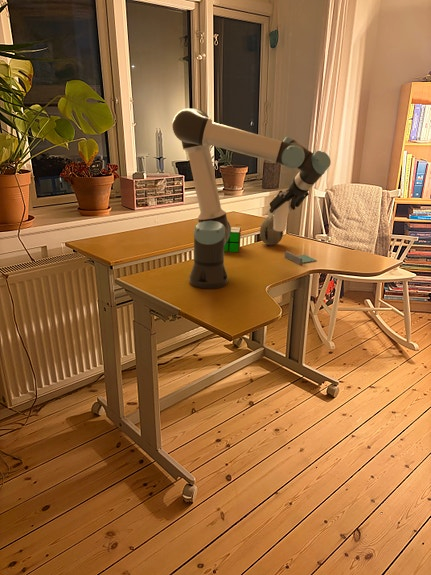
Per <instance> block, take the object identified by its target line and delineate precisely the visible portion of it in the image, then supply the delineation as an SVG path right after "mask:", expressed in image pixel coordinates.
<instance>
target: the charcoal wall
mask: <svg viewBox="0 0 431 575" xmlns="http://www.w3.org/2000/svg"><path fill="white" fill-rule="evenodd" d="M298 256H299V255H296V254H295V253H292V252H290V251H289V250H285V251H284V258H285V259H287V260H289V261H291V262H293V263H295V264H297V265H299V266H302V265H303V263H302V258H300V257H298Z"/></svg>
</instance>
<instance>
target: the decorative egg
mask: <svg viewBox="0 0 431 575" xmlns="http://www.w3.org/2000/svg"><path fill="white" fill-rule="evenodd" d="M273 226H274V215H273V216H272V217H271V218H269V216H267V217H265V218H264V219H263V221H262V223H261V225H260V229H259V236H260V239H261V241H262V242H263V243H264V244H265V245H267V246H275V245H278V244H279V243H280V242H281V241H282V239H283V236H284V231H275V230H274V229H273Z"/></svg>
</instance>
